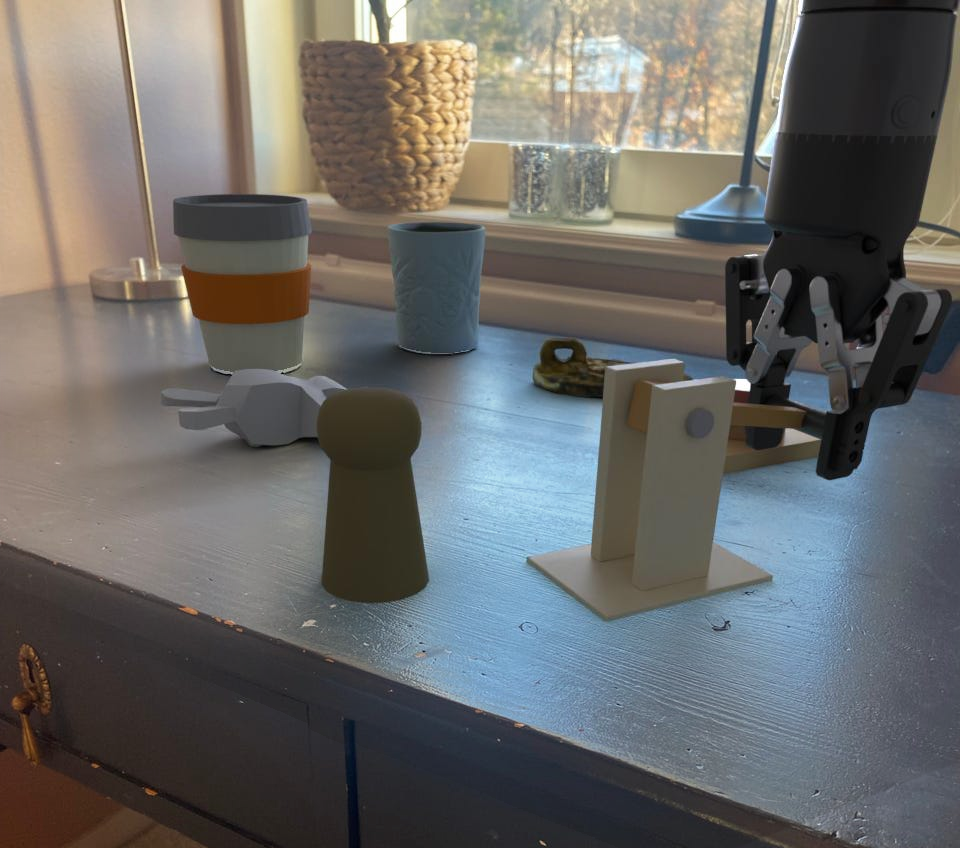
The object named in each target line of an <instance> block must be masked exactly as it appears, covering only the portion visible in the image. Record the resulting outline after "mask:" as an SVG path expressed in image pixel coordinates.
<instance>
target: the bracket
mask: <svg viewBox="0 0 960 848" xmlns="http://www.w3.org/2000/svg"><path fill="white" fill-rule="evenodd" d="M640 362H641V361H640ZM640 362H637V363H634V362H632V363H633V364H624V365H616V366H607V367H606V368H605V379H604V392H603V397H602V403H601V404H602V405H601V417H600V418H601V419H600V430H599V445H598V457H597V468H596V481H595V495H594V505H593V507H594V508H593V519H592V531H591V535H592V536H591V543H587V544H582V545H577V546H572V547H568V548H564V549H558V550H553V551H549V552H544V553H543V552H542V553H538V554H534V555H529V556H527V557H526V559H525V561H526V563H527V564H529V566H531V567H532V568H534V570H536V571H538V573H540V574H541V575H543V576H544V577H545V578H547V579H548V580H549V581H551V583H553V584H555V585H556V586H557V587H559V588H560V589H561V590H563V591H564V592H565V593H567V594H568V595H569V596H570V597H572V598H573V599H574V600H576V601H577V602H578V603H580V604H581V605H583V606H584V607H585V608H586V609H588V610H589V611H590V612H592V613H593V614H594V615H595V616H597V617H598V618H599V619H601V620H602V621H603V622H605V623H607V622H612V621H615V620H620V619H624V618H627V617H628V618H629V617H631V616H637V615H639V614H643V613H647V612H652V611H655V610H660V609H663V608H664V609H665V608H667V607H671V606H676V605H680V604H683V603H688V602H693V601H696V600H701V599H705V598H709V597H713V596H716V595H720V594H724V593H729V592H733V591H736V590H737V591H738V590H740V589H744V588H749V587H753V586H757V585H760V584H764V583H769V582H772V581H773V579H774V576H773V574H771V573H769V572H768V571H766V570H764V569H762V568H761V567H759V566H757V565H755V564H753V563H752V562H750V561H748V560H746V559H744V558H743V557H741V556H739V555H738V554H736V553H734V552H732V551H730V550H728V549H727V548H724V547H723V546H721V545H719V544H718V543H716V542H714V537H715V531H716V526H717V525H716V524H717V518H718V510H719V503H720V497H721V489H722V483H723V477H724V474H723V470H724V463H725V456H726V449H727V443H728V436H729V429H730V422H731V415H732V408H733V401H734V395H735V388H736V380H733V379H734V378H730V377H728V376H725V375H719V376H713V377H706V378H705V377H704V378H698V379H697V378H696V379H693V380H689V381H683V377H684V374H685V369H686V368H685V367H686V362H684V361H683V360H682V361H681V360H679V359H676V358H668V359H660V360H659V359H658V360H651V361H642V362H641V363H640ZM637 379H650V380H661V381H672V382H674V383H666V384H659V385H653V386H652V393H651V402H650V412H649V421H648V431H647V434H645V433H643V432H641V431H639V430H637V429H635V428H633V427H630V426H628V425H627V420H628V416H629V412H630V408H631V403H632V399H633V395H634V391H635V386H636V382H637Z"/></svg>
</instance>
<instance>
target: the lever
mask: <svg viewBox="0 0 960 848" xmlns="http://www.w3.org/2000/svg"><path fill="white" fill-rule="evenodd" d="M666 383H674V382H672V381H661V380H650V379H637V382H636V386H635V391H634V395H633V399H632V403H631V408H630V412H629V416H628V420H627V425H628V426H630V427H633V428H635V429H637V430H639V431H641V432H643V433H645V434H647V431H648V421H649V412H650V402H651V393H652V386H653V385H659V384H666ZM826 413H827V411H824V410H823V409H822V410H821V409H819V408H816V407H813V406H811V405H807V404H805V403H802V402H799V401H796V400H793V399H790V398H789V399H788V398H785V397H782V396H779V395H774V396H772V397H771V398H770V399H769V400H768V401H767V402H766V404H765V405H761V404H748V403H735V402H733V408H732V415H731V422H730V425H742V426H757V427H773V428H789V429H795V430H797V431H800V432H803V433H805V434H808V435H810V436H813V437H816V438H818V439H822V434H823V429H824V423H825V418H826Z"/></svg>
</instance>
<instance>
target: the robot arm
mask: <svg viewBox="0 0 960 848" xmlns="http://www.w3.org/2000/svg"><path fill="white" fill-rule="evenodd" d="M959 10H960V0H799V2H798V9H797V11H798V12H797V14H798V16H797V17H796V21H795V26H794V31H793V36H792V40H791V44H790V47H789V51H788V53H787V60H786V62H785V67H784V73H783V77H782V83H781V90H780V98H779V104H778V111H777V118H776V126H775V131H774V138H773V146H772V153H771V161H770V167H769V174H768V182H767V188H766V195H765V202H764V209H763V221H764V224H765V225H766V226H767V228H770V229H772V230H773V234H772V238H771V241H770V242H769V245H768V247H767V248H766V250H765V253H764V254H747V255H745V254H744V255H740V256H731V257H729V258H728V259H727V260H726V263H725V266H724V281H725V282H724V287H725V288H724V289H725V290H724V291H725V347H726V348H725V355H726V362H727V363H728V364H729V365H730V366H731V367H734V366H738V367H740V368H741V369H742V370H743V371H744V374H745V379H747V381H748V382H749V383H750V392H749V399H748V404H761V405H765V404H766V402H767V401H768V400H769V399H770V398H771V397H772V396H774V395H779V396H782V397H785V398H788V399H790V394H791V387H792V383H788V382H785V380H787V379H788V378H789V377H791V374H792V372H793V370H794V368H795V366H796V364H797V362H798V360H799V358H800V356H801V353H802V351H804V349H805V348H807V347H809V346H810V345H811V344H812V343H814V344H817V350H818V359H819V360H818V361H819V365H820V367H821V368H822V369H823V370H825V371H826V373H827V383H828V394H829V405H830V408H831V410H827V411H826V412H827V413H826V418H825V423H824V429H823V434H822V439H821V445H820V450H819V455H818V457H817V461H816V467H815V474H816V476H817V477H820V478H822V479H824V480H827V481H834V480H839V479H843V478H847V477H849V476H850V475H852V473H853V472H854V471H855V470H857V469H858V468H859V466H860V464H861V463H862V461H863V456H864V450H865V446H866V444H865V443H866V442H867V438H868V434H869V433H868V432H869V428H870V422H871V418H872V415H873V414H874V413H875V411H876V410H879V409H885V408H890V407H896V406H902V405H906V404H908V403H909V402H910V400H911V398H912V396H913V393H914V392H915V389H916V388H917V384H918V382H919V381H920V378H921V377H922V374H923V372H924V368H925V366H926V364H927V362H928V360H929V357H930V355H931V353H932V350H933V348H934V346H935V344H936V341H937V339H938V337H939V335H940V332H941V330H942V328H943V326H944V323H945V321H946V319H947V316H948V315H949V312H950V310H951V308H952V305H953V296H952V293H951V292H950V291H949V290H948V289H947V288H935V289H926V288H925V287H922V286H921V285H918V284H917V283H915V282H914V281H911V280H909V279H908V278H907V270H906V265H905V257H904V254H905V253H904V250H905V245H906V243H907V241H908V239H909V237H910V235H911V234H912V233H913V232H914V231H915V230H916V228H917V227H918V225H919V222H920V219H921V214H922V209H923V206H924V205H923V204H924V200H925V195H926V190H927V187H928V182H929V181H928V180H929V176H930V171H931V167H932V163H933V158H934V154H935V150H936V144H937V141H938V137H939V136H938V135H939V130H940V126H941V121H942V116H943V111H944V107H945V103H946V98H947V93H948V88H949V85H950V84H949V83H950V79H951V72H952V65H953V57H954V42H955V33H956V26H957V20H958V16H957V13H958V12H959ZM886 310H887V313H884V312H885V311H886ZM883 313H884V314H883ZM748 321H750V322H751V342H747V323H748ZM884 325H885V329H884ZM857 340H858V345H857V346H856V348H851V349H849V348H847V346H846V345H845V344H850V343H851V344H852V343H854V342H855V341H857ZM853 369H854V375H855V387H854V379H853ZM783 430H784V428H773V427H757V426H745V435H746V445H747V446H748V447H750V448H753V449H755V450H763V449H769V448H774V447H777V446H778V445H779V444H780V442H781V440H782V436H783Z"/></svg>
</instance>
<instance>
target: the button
mask: <svg viewBox="0 0 960 848" xmlns="http://www.w3.org/2000/svg"><path fill="white" fill-rule="evenodd" d="M732 379H733V380H736V388H735V395H734V401H733V402H735V403H748V399H749V392H750V383H749V382H748V381H747V379H746V378H732Z"/></svg>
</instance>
